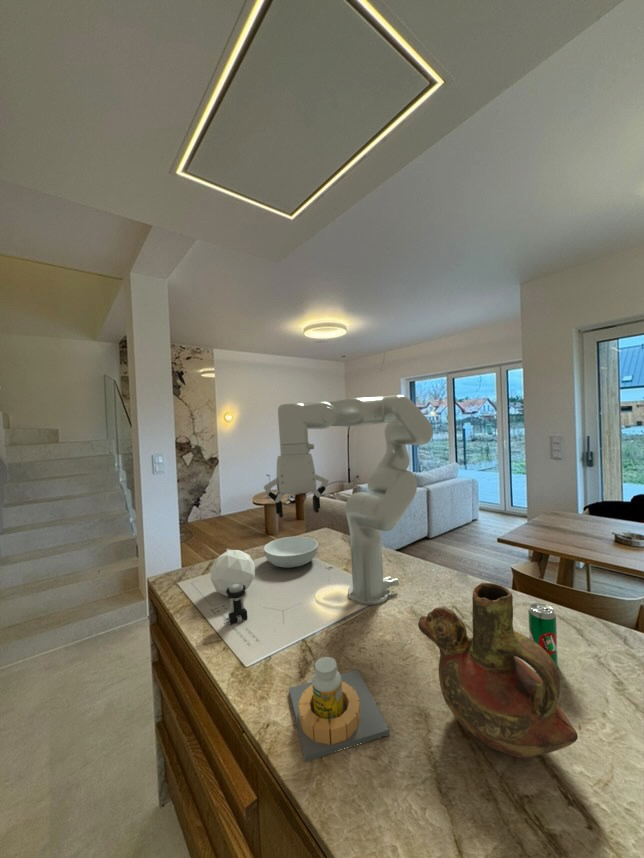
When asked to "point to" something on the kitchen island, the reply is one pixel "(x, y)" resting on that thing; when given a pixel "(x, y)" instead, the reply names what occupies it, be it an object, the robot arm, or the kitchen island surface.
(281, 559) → the serving bowl
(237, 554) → the geodesic sphere
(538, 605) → the soda can
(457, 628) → the ceramic vessel
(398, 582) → the robot arm
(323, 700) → the supplement bottle
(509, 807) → the kitchen island surface
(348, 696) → the collar
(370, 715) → the plate
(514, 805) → the kitchen island surface
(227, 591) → the push button
